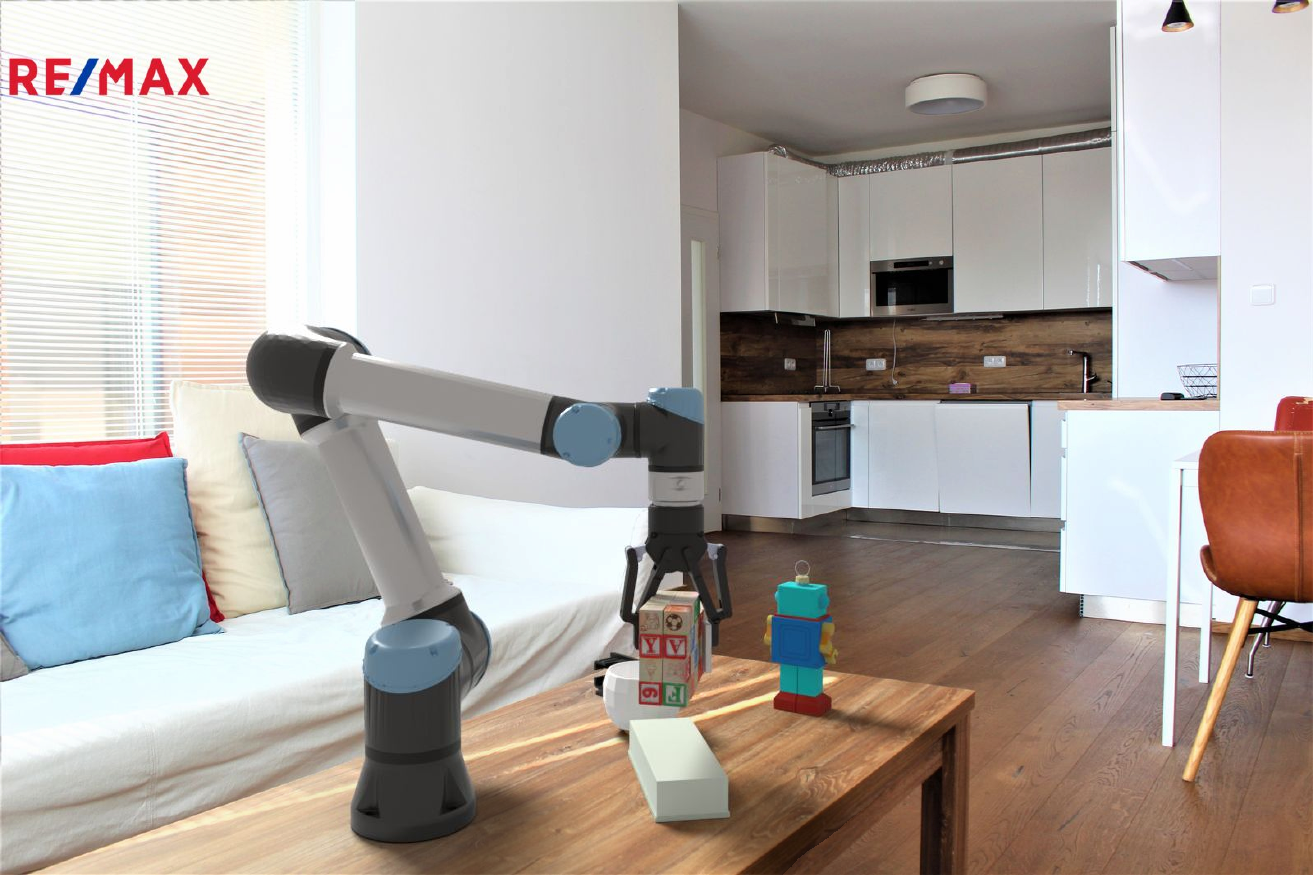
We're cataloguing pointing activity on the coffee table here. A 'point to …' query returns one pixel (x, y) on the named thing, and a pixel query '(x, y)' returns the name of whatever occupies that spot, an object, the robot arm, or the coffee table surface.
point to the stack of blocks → (670, 648)
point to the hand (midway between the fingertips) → (676, 671)
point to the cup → (629, 697)
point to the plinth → (677, 770)
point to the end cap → (606, 664)
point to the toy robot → (801, 645)
